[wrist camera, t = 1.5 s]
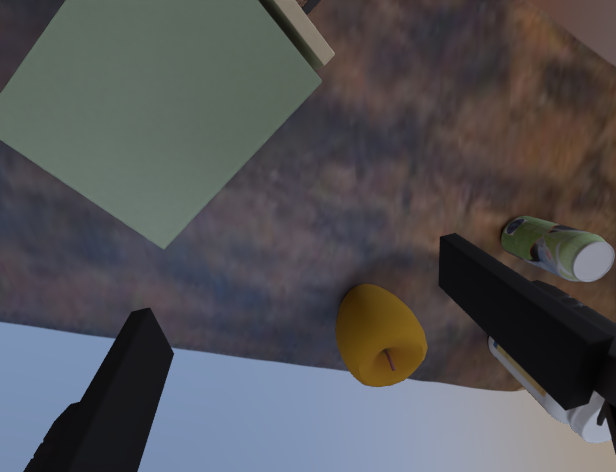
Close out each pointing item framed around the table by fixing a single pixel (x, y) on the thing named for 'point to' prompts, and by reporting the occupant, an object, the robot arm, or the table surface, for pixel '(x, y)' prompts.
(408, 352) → the apple
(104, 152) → the cabinet
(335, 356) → the table surface
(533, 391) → the supplement tub
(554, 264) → the beverage can
